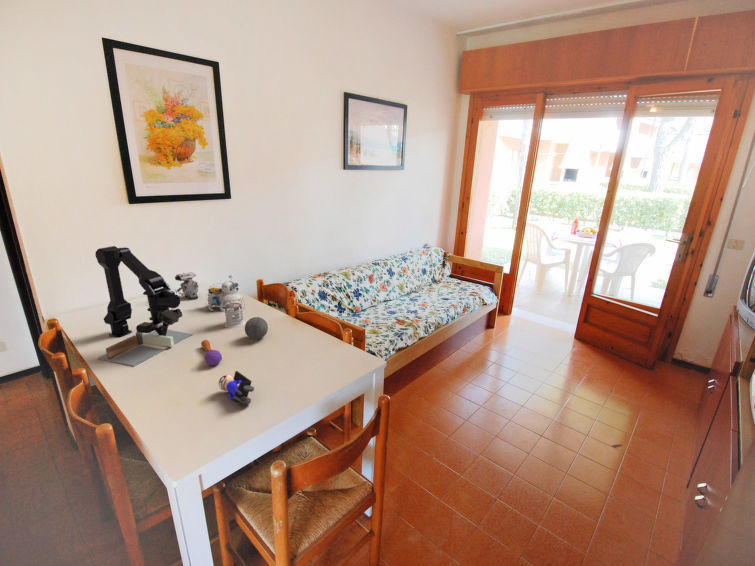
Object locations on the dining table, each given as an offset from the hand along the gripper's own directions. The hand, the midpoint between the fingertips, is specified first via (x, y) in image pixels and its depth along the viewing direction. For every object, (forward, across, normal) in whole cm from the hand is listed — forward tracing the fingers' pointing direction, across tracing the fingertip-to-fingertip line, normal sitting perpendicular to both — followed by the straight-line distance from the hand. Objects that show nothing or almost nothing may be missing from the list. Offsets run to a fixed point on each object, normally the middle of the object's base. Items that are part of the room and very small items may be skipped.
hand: (164, 339), depth 157 cm
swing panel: (+2, -2, +1) cm, 3 cm away
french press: (+4, +29, -14) cm, 33 cm away
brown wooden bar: (+1, -10, +9) cm, 13 cm away
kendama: (+4, -3, -25) cm, 25 cm away
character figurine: (+4, -23, -52) cm, 57 cm away
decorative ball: (+4, +18, -33) cm, 38 cm away
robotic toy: (+3, +44, +4) cm, 45 cm away
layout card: (+2, -4, +5) cm, 7 cm away
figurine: (+2, +50, +32) cm, 59 cm away
